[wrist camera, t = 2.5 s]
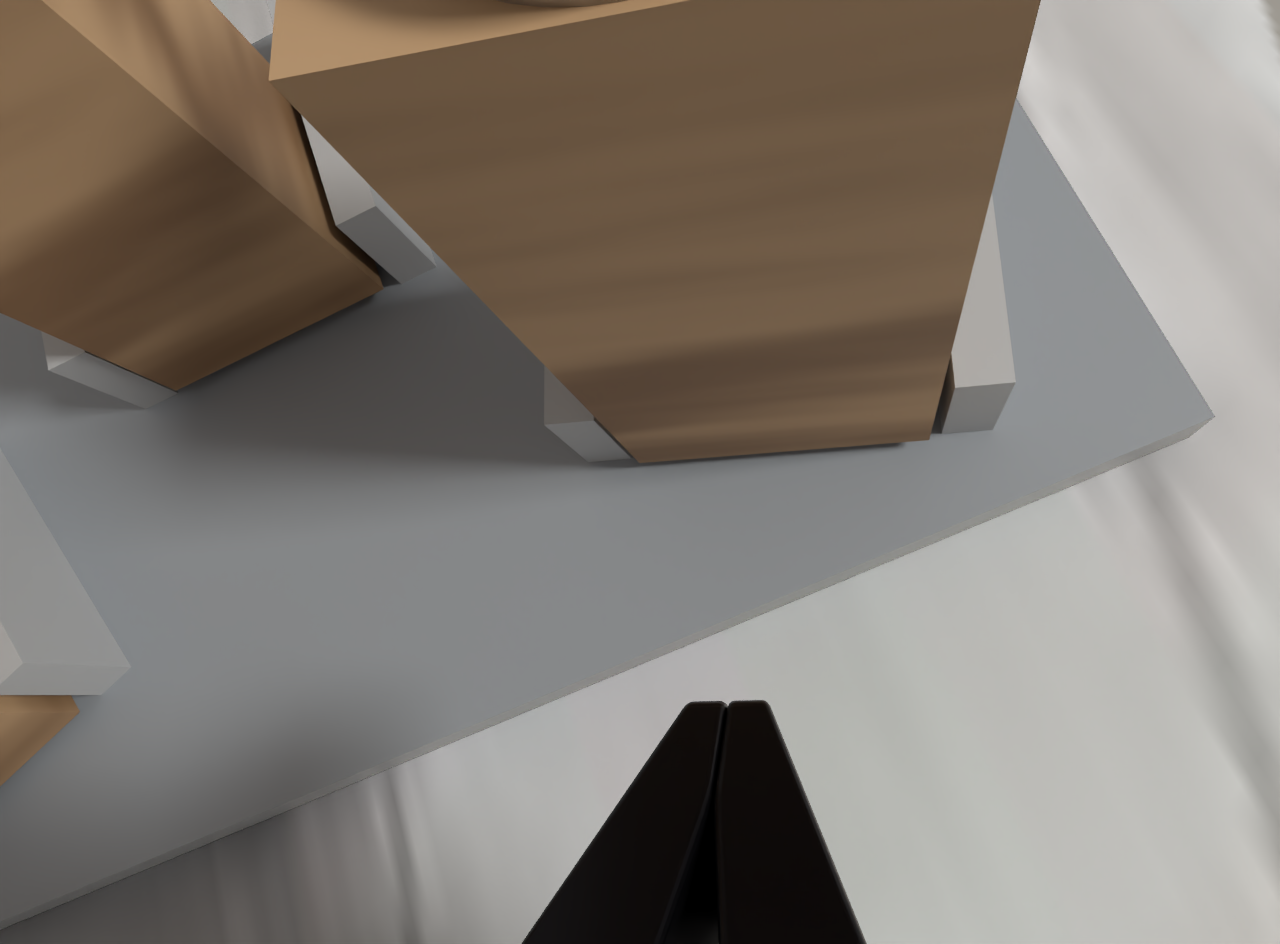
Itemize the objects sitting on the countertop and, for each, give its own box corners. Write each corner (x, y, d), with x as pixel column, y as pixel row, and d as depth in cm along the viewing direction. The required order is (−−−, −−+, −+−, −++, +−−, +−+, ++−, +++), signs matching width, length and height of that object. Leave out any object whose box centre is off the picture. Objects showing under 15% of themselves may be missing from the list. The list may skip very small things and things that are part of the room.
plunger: (928, 440, 18) (1095, -212, 5) (639, 463, 20) (182, -9, 7) (906, 216, 20) (994, -775, 6) (635, 251, 21) (241, -508, 8)
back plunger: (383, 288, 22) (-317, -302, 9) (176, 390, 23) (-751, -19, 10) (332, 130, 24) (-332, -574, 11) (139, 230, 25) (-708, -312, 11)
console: (1188, 437, 19) (1281, 364, 15) (-178, 1003, 24) (-407, 1071, 19) (802, -198, 25) (790, -379, 21) (-228, 349, 30) (-411, 291, 25)
